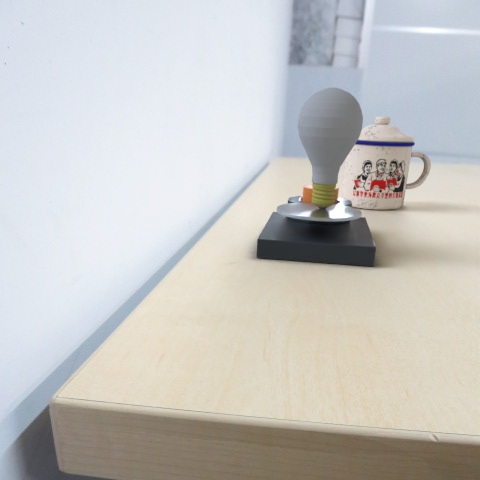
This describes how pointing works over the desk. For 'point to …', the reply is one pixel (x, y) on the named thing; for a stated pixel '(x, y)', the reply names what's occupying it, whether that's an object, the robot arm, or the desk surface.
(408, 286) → the desk surface
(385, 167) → the teacup with lid
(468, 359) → the desk surface
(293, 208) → the weigh plate
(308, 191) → the short orange cylinder
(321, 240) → the scale
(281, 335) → the desk surface
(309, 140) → the light bulb
